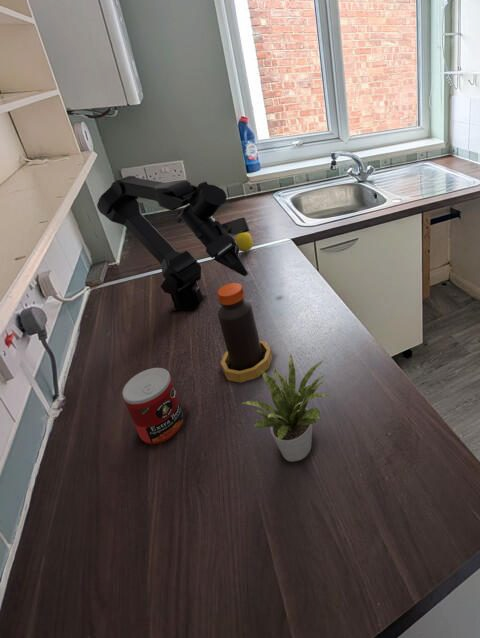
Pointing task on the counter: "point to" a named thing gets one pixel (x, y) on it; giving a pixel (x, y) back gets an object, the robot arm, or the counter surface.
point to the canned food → (153, 405)
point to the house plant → (290, 412)
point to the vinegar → (239, 328)
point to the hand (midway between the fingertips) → (245, 274)
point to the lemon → (244, 241)
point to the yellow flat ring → (251, 372)
